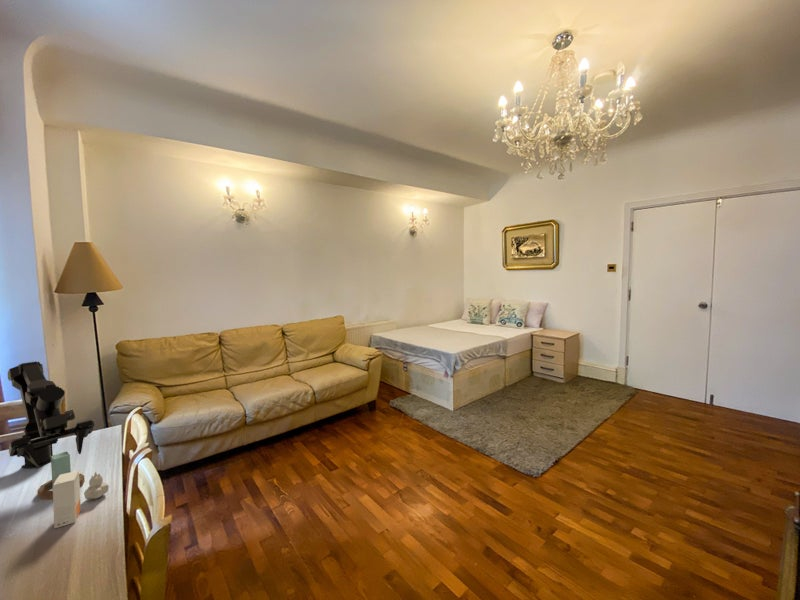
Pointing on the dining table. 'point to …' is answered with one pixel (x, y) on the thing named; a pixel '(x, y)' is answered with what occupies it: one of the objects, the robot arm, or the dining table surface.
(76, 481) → the skincare box
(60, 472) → the green rectangular block
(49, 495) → the walnut ring
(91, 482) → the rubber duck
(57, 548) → the dining table surface
